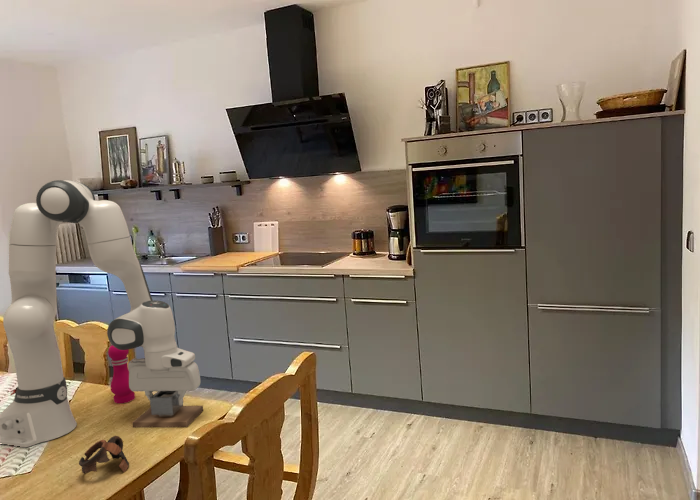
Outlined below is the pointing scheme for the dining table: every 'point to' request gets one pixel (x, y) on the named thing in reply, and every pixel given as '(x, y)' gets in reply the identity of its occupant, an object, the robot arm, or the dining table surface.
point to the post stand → (168, 417)
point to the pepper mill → (120, 376)
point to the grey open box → (164, 403)
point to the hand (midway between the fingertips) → (167, 404)
